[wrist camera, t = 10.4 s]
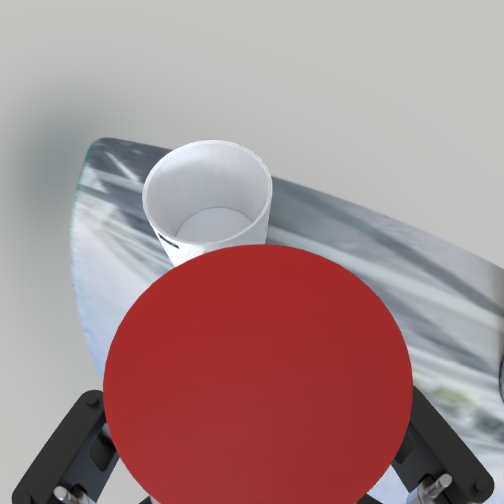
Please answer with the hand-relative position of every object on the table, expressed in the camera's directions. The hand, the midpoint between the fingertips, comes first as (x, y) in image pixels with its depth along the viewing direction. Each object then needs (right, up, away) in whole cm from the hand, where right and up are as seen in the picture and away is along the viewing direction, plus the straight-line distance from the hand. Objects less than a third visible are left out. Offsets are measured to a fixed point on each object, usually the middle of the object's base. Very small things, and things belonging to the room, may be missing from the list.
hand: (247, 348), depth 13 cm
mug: (-4, +4, +14) cm, 15 cm away
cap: (0, +1, -7) cm, 7 cm away
